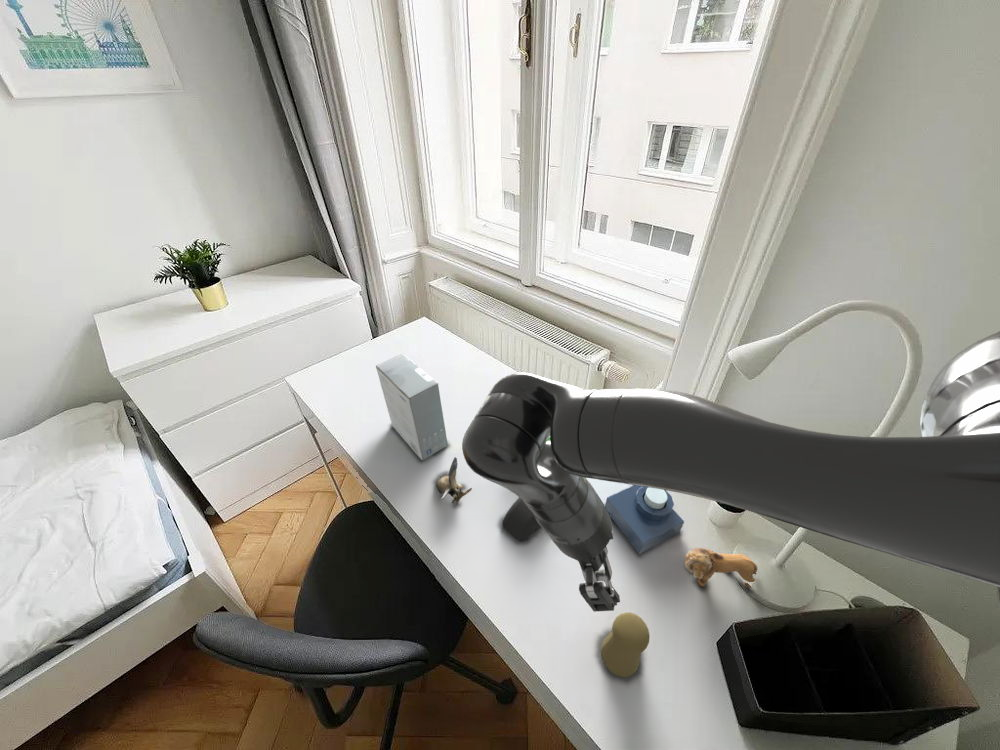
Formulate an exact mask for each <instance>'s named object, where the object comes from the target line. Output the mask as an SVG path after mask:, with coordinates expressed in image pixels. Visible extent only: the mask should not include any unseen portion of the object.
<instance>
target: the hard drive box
mask: <svg viewBox="0 0 1000 750" xmlns="http://www.w3.org/2000/svg"><path fill="white" fill-rule="evenodd" d="M375 368H376V372H377V375H378V379H379V383H380V387H381V390H382V393H383V394H382V395H383V399H384V401H385V405H386V409H387V412H388V415H389V419H390V422H391V426H392V427H393V429H394V430H395V431H396V432H397V433H398V435H400V437H401V438H402V439H403V441H404V442H405V443H406V444H407V445H408V446H409V448H411V450H412V451H413V452H414V453H415V454H416V455H417V457H418V458H419V459H420V460H421V461H424V460H426V459H428V458H429V457H431V456H432V455H434V454H436V453H437V452H439V451H441V450H442V449H444V448H446V447H447V446H448V445H449V443H448V437H447V431H446V425H445V418H444V411H443V407H442V406H443V405H442V400H441V393H440V387H439V382H438V381H436V380H435V379H434V378H433V377H432V376H431V375H430V374H428V373H427V372H426V371H425V370H424V369H423V368H422V367H420V366H419V365H418V364H417V363H415V362H414V361H413V360H412V359H411V358H410V357H408V356H407V355H406V354H405V353H401V354H399V355H396V356H394V357H391V358H389V359H386V360H385V361H383V362H381V363H377V364H376V365H375Z"/></svg>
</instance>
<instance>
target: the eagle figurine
mask: <svg viewBox="0 0 1000 750" xmlns="http://www.w3.org/2000/svg"><path fill="white" fill-rule="evenodd" d="M457 469H458V458H457V457H456V456H454V458H453V459H452V463H451V465H450V468H449V470H448V473H445V474H444V473H443V474H442V475H440V476H439V478H438V479H436V481H435V484H434V485H435V488H436V490H437V491H436V492H437V493H438V494H439V495H442V497H441V498H440V500H443V499H445V497H446V496H447V495H450V496H451V497H452V499H453V500H452V501H451V503H452V504H454V503H455V505H456V506H458V505H459V502H460V500H461V499H462V498H464V497H465V496H466V495H468V494H469V493H470V492H471V491H472V489H473V488H472V487H470V488H469V489H467V490H465V491H464V492H463V490H462V489H463V488H464V487H463V486H462V484H461V483H458V482H457V479H456V477H457Z"/></svg>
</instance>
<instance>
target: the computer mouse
mask: <svg viewBox="0 0 1000 750" xmlns="http://www.w3.org/2000/svg"><path fill="white" fill-rule="evenodd" d="M501 524H502V525H501V526H502V528H503V529H504V531H506V532H507V533H508V534H509V535H510V536H512V537H513V538H514V539H515V540H516V541H518V542H526V541H527V540H529V539H530V538H531V536H532V535H533V534H534V533H535V532H536V531H537V530H538V529H539V528H540V527H541V526H540V525H539V524H538V522H537V520H536V518H535V517H534V515H533V513H532V512H531V511H530V509H529V508H528V507H527V506H526V504H525V503H524V502H523V501H522V499H521V498H519V497H518V498H517V499H516V500H515V502H514V503H512V505H511V506H510V508H509V509H508V510H507V512H506V514H505V516H504V517H503V519H502V522H501Z"/></svg>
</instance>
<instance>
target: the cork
mask: <svg viewBox="0 0 1000 750" xmlns="http://www.w3.org/2000/svg"><path fill="white" fill-rule="evenodd" d="M649 643H650V631H649V627H648V625H647V623H646V622H645V621H644V619H642V617H640V616H639V615H637V614H636V613H633V612H621V613H620V614H619V615H617V616H616V617H615V619H614V621H613V622H612V627H611V631H610V632H609V633H608V635H607V636H606V637H604V639H603V641H602V643H601V647H600V653H601V654H600V656H601V660H602V661H603V664H604V666H605V667H606V668H607V670H609V671H610V672H611V673H612V674H614V675H615V676H618V677H621V678H629V677H631V676H634V674H635V673H636V672H637V671H638V669H639V666H640V662H641V656H642V653H643V652H644V651H645V650H646V649H647V648H648V645H649Z"/></svg>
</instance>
